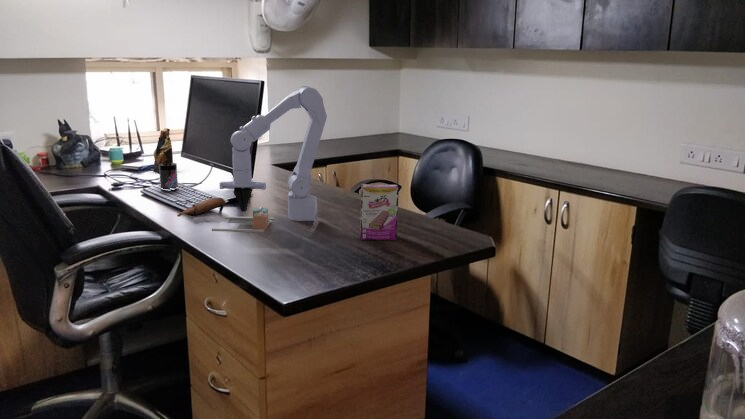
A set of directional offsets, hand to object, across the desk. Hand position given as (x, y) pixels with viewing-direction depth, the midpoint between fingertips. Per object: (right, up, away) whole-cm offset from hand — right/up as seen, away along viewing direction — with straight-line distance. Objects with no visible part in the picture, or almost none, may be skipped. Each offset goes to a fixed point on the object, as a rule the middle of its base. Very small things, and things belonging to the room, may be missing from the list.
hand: (244, 210), depth 198 cm
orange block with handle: (+7, -5, -6) cm, 10 cm away
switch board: (+1, -6, -3) cm, 6 cm away
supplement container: (-40, +8, +50) cm, 65 cm away
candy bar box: (+43, -9, -11) cm, 45 cm away
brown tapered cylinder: (-18, -1, +17) cm, 25 cm away
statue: (-54, +17, +85) cm, 103 cm away
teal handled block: (+5, -3, 0) cm, 6 cm away
